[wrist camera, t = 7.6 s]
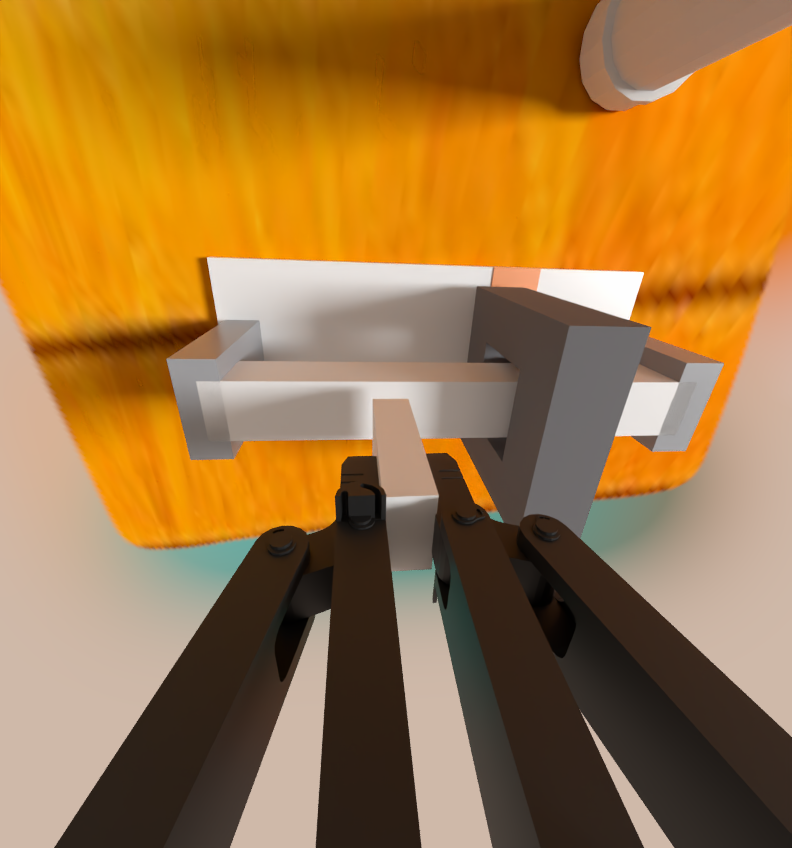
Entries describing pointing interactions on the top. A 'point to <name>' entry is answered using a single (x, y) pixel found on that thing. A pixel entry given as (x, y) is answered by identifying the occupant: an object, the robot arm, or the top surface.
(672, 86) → the pipe
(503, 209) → the top surface
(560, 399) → the collar
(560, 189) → the top surface
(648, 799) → the robot arm
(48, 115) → the top surface
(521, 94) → the top surface
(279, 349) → the rail
